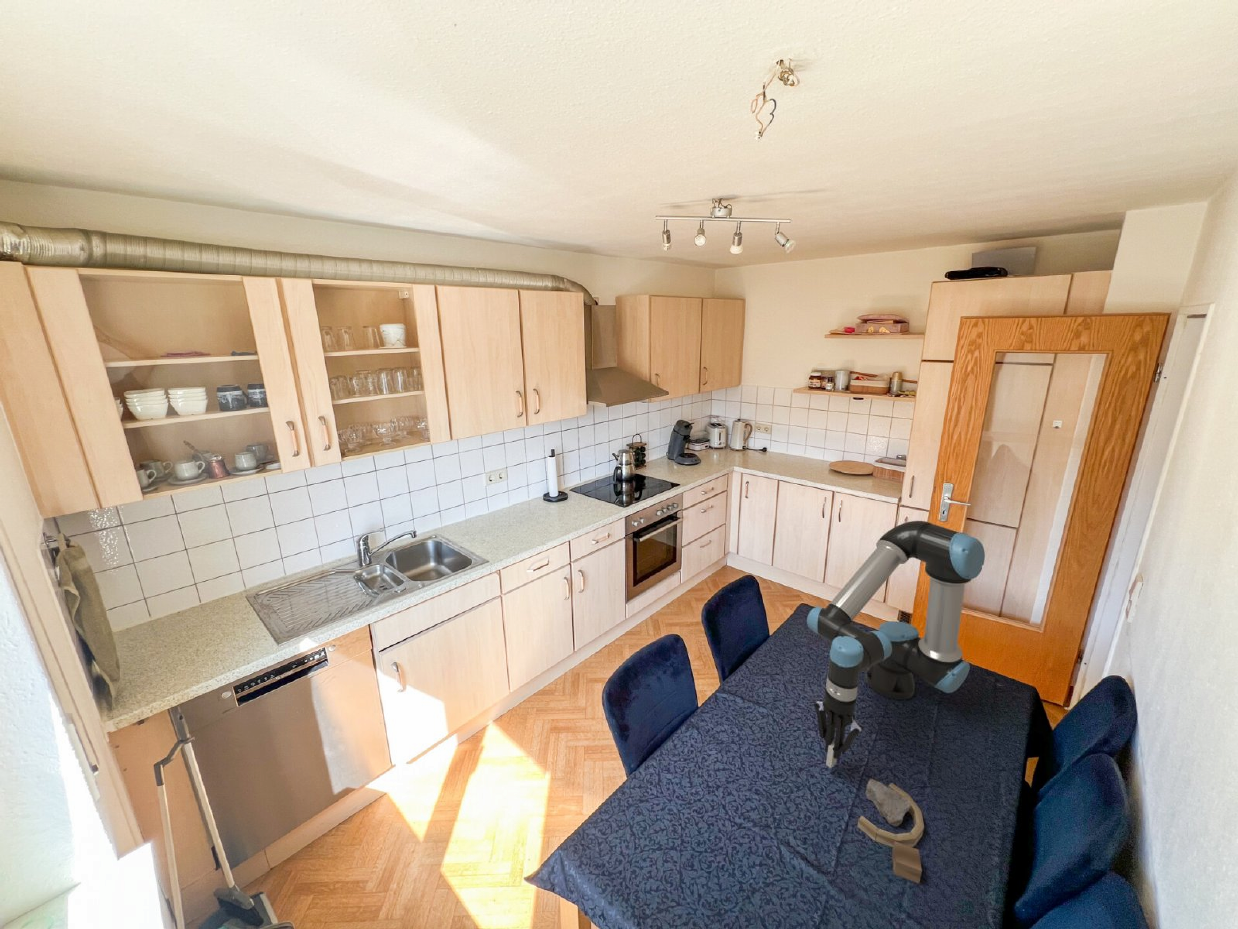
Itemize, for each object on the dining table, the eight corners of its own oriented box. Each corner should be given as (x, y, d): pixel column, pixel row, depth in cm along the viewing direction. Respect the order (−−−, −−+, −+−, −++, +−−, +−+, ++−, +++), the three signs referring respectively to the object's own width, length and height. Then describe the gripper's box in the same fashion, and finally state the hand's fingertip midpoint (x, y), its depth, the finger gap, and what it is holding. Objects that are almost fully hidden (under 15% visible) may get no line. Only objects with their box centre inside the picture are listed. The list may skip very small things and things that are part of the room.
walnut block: (891, 854, 116) (894, 841, 115) (915, 862, 114) (918, 850, 113) (893, 874, 111) (896, 861, 110) (918, 884, 109) (921, 871, 108)
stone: (897, 834, 120) (900, 815, 119) (857, 805, 128) (860, 787, 126) (911, 814, 125) (914, 796, 124) (872, 787, 133) (874, 770, 131)
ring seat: (890, 790, 132) (891, 782, 131) (933, 820, 123) (935, 813, 123) (857, 826, 122) (858, 819, 121) (902, 862, 114) (903, 854, 113)
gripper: (810, 685, 132) (802, 755, 139) (857, 714, 122) (846, 788, 129) (825, 674, 137) (817, 742, 143) (872, 701, 127) (860, 773, 133)
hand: (831, 764), depth 136 cm, fingers closed
